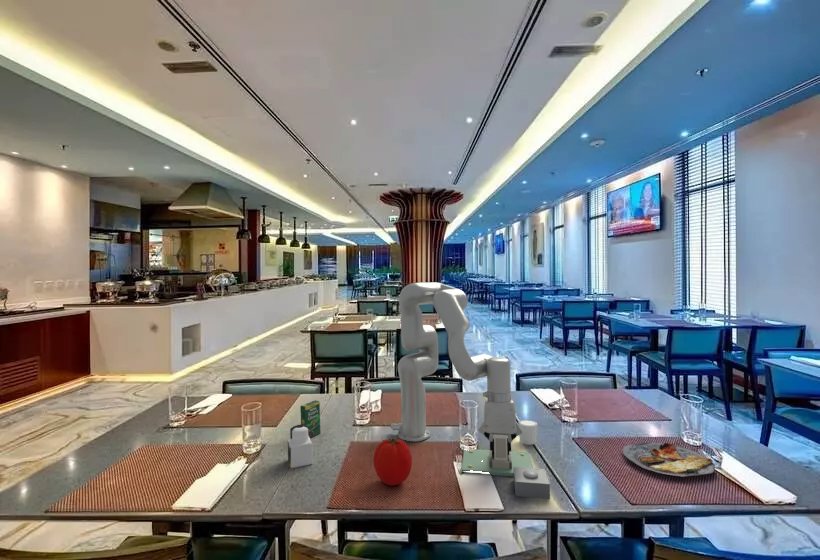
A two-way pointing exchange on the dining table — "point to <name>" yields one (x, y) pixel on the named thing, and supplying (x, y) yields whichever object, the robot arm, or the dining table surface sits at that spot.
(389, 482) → the tomato
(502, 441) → the plug
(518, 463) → the board
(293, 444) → the medicine bottle
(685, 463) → the food plate
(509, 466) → the socket
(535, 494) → the grey push button box
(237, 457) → the dining table surface
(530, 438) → the gray cup
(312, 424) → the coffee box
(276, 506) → the dining table surface
